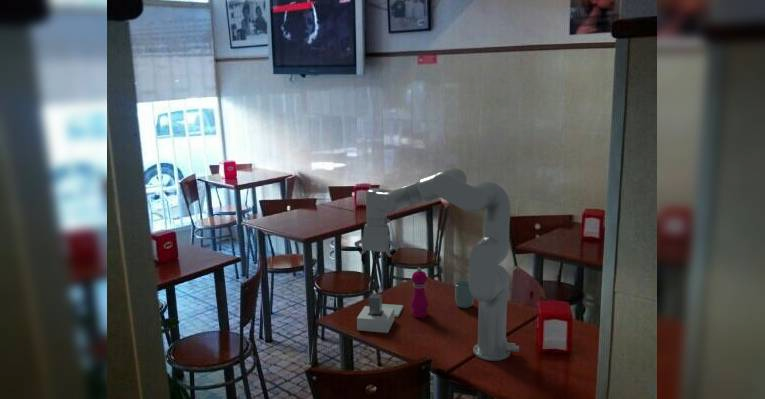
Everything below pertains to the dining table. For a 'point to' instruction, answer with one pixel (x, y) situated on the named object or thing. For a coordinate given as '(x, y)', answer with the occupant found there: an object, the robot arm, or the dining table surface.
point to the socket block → (375, 320)
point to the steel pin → (375, 305)
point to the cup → (463, 294)
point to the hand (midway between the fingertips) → (376, 264)
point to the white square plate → (396, 308)
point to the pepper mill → (419, 294)
